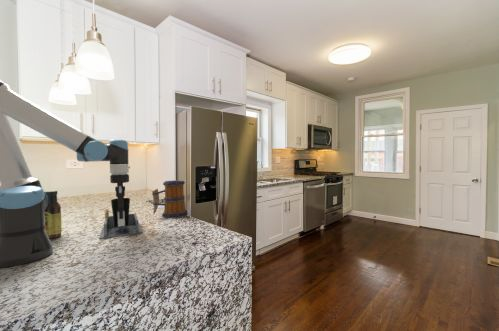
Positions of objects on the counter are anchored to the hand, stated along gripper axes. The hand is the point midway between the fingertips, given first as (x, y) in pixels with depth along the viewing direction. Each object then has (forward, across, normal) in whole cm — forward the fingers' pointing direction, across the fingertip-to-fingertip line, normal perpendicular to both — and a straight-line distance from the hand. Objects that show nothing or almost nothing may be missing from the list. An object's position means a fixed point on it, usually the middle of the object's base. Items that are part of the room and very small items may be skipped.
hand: (121, 223), depth 109 cm
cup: (+1, 0, 0) cm, 1 cm away
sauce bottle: (+3, +6, +26) cm, 27 cm away
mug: (+3, +18, -25) cm, 31 cm away
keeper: (+3, 0, 0) cm, 3 cm away
